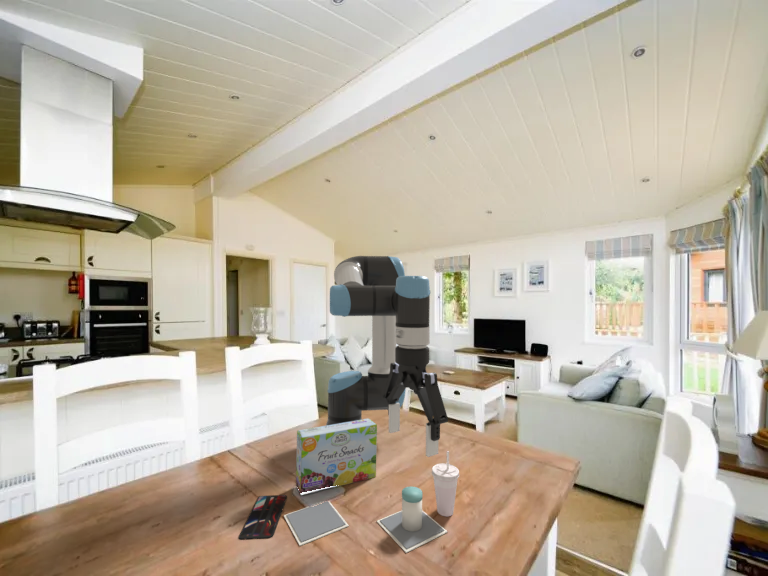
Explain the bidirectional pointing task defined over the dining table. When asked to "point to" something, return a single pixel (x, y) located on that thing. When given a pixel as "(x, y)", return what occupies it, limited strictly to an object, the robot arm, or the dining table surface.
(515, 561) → the dining table surface
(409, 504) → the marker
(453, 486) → the smoothie
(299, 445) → the snack box
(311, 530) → the plate
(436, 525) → the mat drink
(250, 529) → the smartphone
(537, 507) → the dining table surface
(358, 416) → the robot arm
